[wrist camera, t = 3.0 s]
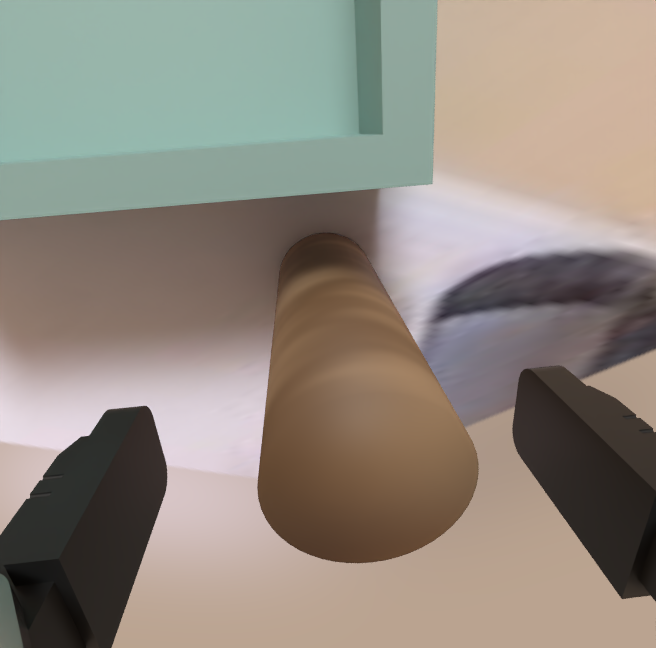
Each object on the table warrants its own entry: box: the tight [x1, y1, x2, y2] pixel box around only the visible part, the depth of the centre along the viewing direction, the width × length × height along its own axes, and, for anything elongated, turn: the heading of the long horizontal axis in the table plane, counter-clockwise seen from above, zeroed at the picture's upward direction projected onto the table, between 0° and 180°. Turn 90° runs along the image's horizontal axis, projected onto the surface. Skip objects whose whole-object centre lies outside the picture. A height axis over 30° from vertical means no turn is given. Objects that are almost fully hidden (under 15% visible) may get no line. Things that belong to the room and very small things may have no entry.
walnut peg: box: [258, 233, 478, 563], centre depth 13 cm, size 4×4×12 cm
